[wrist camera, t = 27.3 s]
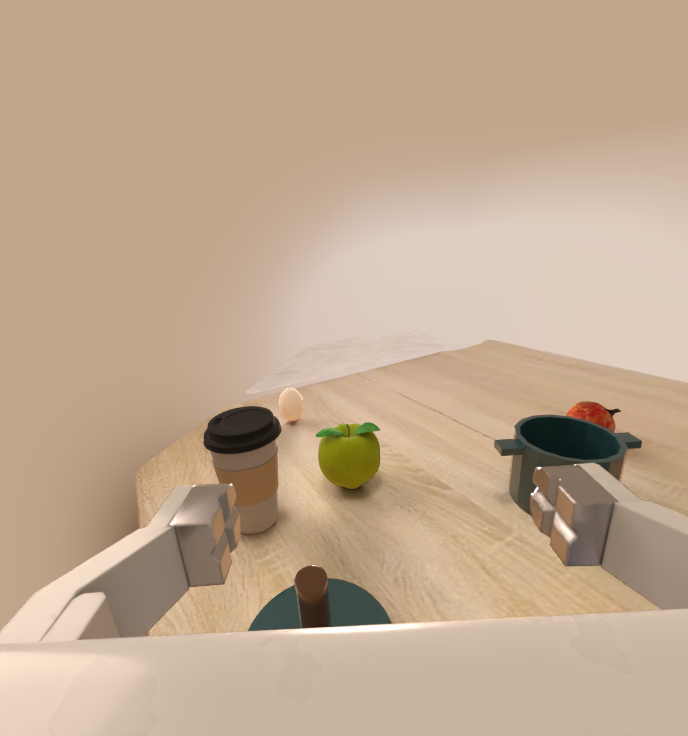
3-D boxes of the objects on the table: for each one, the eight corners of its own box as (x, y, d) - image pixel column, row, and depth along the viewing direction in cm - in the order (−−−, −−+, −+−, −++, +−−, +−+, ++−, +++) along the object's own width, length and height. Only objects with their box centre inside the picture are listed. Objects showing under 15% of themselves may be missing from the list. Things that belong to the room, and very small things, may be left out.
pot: (660, 526, 44) (678, 458, 41) (513, 534, 45) (520, 467, 42) (593, 467, 56) (603, 411, 53) (477, 474, 56) (481, 418, 53)
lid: (414, 745, 26) (415, 659, 23) (221, 768, 25) (198, 683, 22) (383, 580, 38) (381, 512, 36) (255, 593, 38) (242, 525, 35)
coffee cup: (213, 513, 51) (192, 417, 46) (275, 487, 56) (262, 397, 51) (233, 557, 44) (212, 447, 39) (303, 523, 48) (292, 421, 44)
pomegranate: (567, 458, 63) (632, 438, 56) (543, 420, 64) (603, 396, 58) (574, 444, 68) (634, 424, 62) (552, 409, 69) (608, 386, 63)
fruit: (382, 501, 52) (380, 439, 48) (317, 501, 52) (311, 439, 49) (381, 464, 60) (379, 409, 57) (325, 464, 61) (320, 410, 58)
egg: (279, 417, 80) (274, 386, 77) (302, 413, 81) (299, 382, 79) (281, 428, 75) (277, 394, 72) (307, 423, 76) (303, 390, 74)
